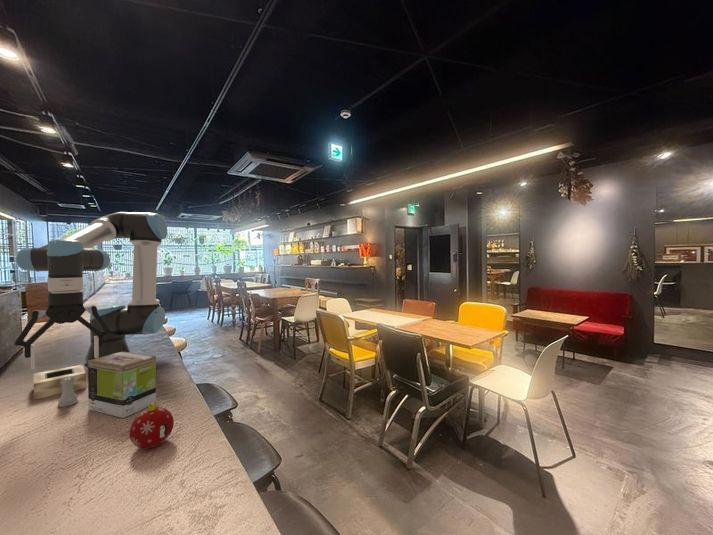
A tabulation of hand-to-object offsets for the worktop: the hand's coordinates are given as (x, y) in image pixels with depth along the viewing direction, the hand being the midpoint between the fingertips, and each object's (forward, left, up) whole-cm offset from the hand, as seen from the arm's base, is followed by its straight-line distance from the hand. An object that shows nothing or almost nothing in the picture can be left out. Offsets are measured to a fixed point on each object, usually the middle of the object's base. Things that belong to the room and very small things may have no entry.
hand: (66, 362), depth 89 cm
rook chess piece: (0, 0, -13) cm, 13 cm away
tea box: (-11, +14, -13) cm, 22 cm away
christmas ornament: (-12, +42, -13) cm, 45 cm away
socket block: (+1, -17, -13) cm, 21 cm away
